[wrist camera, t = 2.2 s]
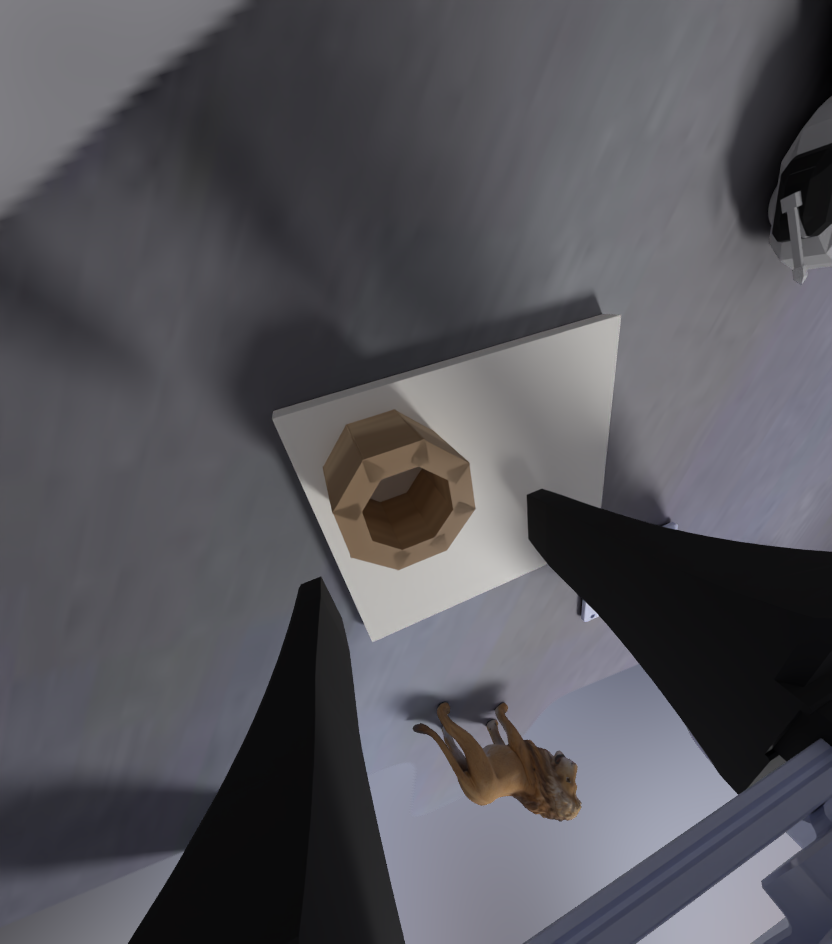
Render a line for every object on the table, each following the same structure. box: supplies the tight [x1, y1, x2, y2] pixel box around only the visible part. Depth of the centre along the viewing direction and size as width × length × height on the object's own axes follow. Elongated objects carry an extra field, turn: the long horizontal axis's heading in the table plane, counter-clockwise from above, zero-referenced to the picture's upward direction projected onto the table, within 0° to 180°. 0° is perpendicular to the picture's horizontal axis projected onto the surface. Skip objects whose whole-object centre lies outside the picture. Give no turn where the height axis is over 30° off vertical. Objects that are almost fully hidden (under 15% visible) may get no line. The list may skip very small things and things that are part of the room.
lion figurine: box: [413, 702, 581, 821], centre depth 30 cm, size 15×5×9 cm, turn 66°
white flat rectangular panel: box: [272, 314, 621, 642], centre depth 20 cm, size 18×16×1 cm
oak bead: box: [323, 409, 476, 570], centre depth 15 cm, size 6×6×4 cm
